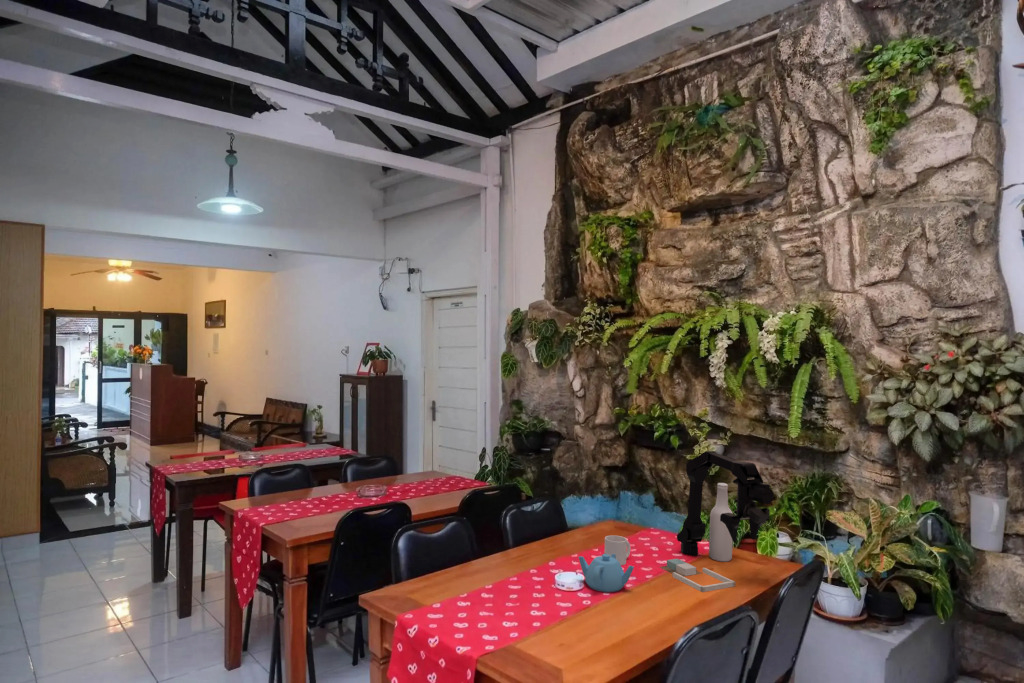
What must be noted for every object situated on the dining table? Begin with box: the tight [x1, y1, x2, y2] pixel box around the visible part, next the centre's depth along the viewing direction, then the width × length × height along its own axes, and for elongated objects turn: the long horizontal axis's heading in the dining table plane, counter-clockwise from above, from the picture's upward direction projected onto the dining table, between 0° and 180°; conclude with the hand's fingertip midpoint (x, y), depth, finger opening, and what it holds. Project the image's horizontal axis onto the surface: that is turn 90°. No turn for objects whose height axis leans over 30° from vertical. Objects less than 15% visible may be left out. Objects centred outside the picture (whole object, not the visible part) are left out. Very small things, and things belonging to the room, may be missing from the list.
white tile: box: [676, 562, 697, 577], centre depth 228 cm, size 5×5×2 cm
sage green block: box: [666, 558, 687, 571], centre depth 233 cm, size 5×5×2 cm
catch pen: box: [672, 567, 736, 593], centre depth 220 cm, size 15×15×3 cm
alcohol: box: [708, 482, 734, 563], centre depth 251 cm, size 9×9×30 cm
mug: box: [603, 535, 631, 566], centre depth 239 cm, size 12×8×10 cm
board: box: [659, 565, 703, 577], centre depth 231 cm, size 11×11×2 cm
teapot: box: [578, 553, 635, 593], centre depth 217 cm, size 15×15×11 cm
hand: (744, 540), depth 226 cm, fingers open, 9 cm apart
